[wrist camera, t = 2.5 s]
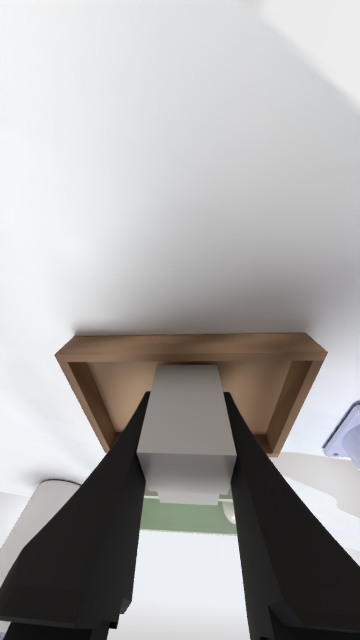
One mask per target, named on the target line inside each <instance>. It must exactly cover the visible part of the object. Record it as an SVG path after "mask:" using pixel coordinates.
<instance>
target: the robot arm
mask: <svg viewBox="0 0 360 640" xmlns="http://www.w3.org/2000/svg"><path fill="white" fill-rule="evenodd" d="M150 393H151V391H146V392H145V394H144V396H143V398H142V400H141V401H140V403H139V405H138V407H137V409H136V410H135V412H134V414H133V415H132V417H131V419H130V420H129V422H128V424H127V425H126V427H125V428H124V430H123V431H122V433H121V434H120V436H119V437H118V439H117V440H116V442H115V443H114V445H113V446H112V447H111V449H110V450H109V451H108V453H107V454H106V455H105V457H104V458H103V459H102V461H101V462H100V463H99V465H98V466H97V467H96V468H95V469H94V471H93V472H92V473H91V474H90V476H89V477H88V478H87V479H86V480H85V482H84V483H83V484H82V485H81V486H80V488H79V489H78V490H77V491H76V492H75V493H74V494H73V495H72V496H71V498H70V499H69V500H68V501H67V502H66V503H65V504H64V505H63V507H62V508H61V509H60V510H59V511H58V512H57V513H56V514H55V515H54V516H53V517H52V518H51V519H50V520H49V521H48V523H47V524H46V525H45V526H44V527H43V528H42V529H41V530H40V531H39V532H38V533H37V534H36V535H35V536H34V537H33V538H32V539H31V540H30V541H29V542H28V543H27V544H26V545H25V546H24V547H23V549H22V550H21V552H20V554H19V555H18V557H17V559H16V560H15V562H14V563H13V565H12V567H11V568H10V570H9V572H8V574H7V576H6V578H5V579H4V581H3V583H2V585H1V587H0V621H7V622H11V623H10V625H9V627H8V629H7V632H6V633H4V632H0V640H107V636H108V630H109V628H112V629H117V625H118V620H119V614H124V612H125V611H126V610H127V608H128V607H129V605H130V603H131V602H132V593H133V583H134V574H135V565H136V556H137V548H138V540H139V531H140V523H141V516H142V508H143V501H144V493H145V486H146V480H145V476H144V473H143V470H142V467H141V464H140V461H139V458H138V455H137V448H138V444H139V440H140V435H141V431H142V427H143V423H144V418H145V414H146V410H147V406H148V401H149V397H150ZM223 394H224V399H225V403H226V408H227V413H228V417H229V422H230V426H231V431H232V436H233V440H234V445H235V449H236V454H237V457H236V461H235V465H234V469H233V474H232V478H231V482H230V484H231V491H232V499H233V506H234V513H235V521H236V528H237V536H238V543H239V551H240V559H241V567H242V576H243V584H244V593H245V602H246V611H247V619H248V625H249V632H250V639H251V640H360V566H359V565H358V564H357V563H356V562H355V561H354V560H353V559H352V558H351V556H350V555H349V554H348V553H347V552H346V551H345V550H344V549H343V548H342V547H341V545H340V544H339V543H338V542H337V541H336V540H335V539H334V538H333V537H332V535H331V534H330V533H329V532H328V531H327V530H326V529H325V527H324V526H323V525H322V524H321V523H320V522H319V520H318V519H317V518H316V517H315V516H314V515H313V514H312V512H311V511H310V510H309V509H308V507H307V506H306V505H305V504H304V503H303V501H302V500H301V499H300V498H299V496H298V495H297V494H296V493H295V492H294V490H293V489H292V488H291V487H290V485H289V484H288V483H287V482H286V480H285V479H284V478H283V476H282V475H281V474H280V472H279V471H278V470H277V468H276V467H275V466H274V464H273V463H272V462H271V460H270V459H269V457H268V456H267V455H266V453H265V452H264V450H263V449H262V447H261V446H260V444H259V443H258V441H257V440H256V438H255V437H254V435H253V434H252V432H251V430H250V429H249V427H248V425H247V424H246V422H245V420H244V419H243V417H242V415H241V413H240V412H239V410H238V408H237V406H236V404H235V402H234V400H233V398H232V396H231V394H230V393H229V392H223ZM323 452H324V454H325V455H326V456H328V457H350V458H351V460H352V461H353V463H354V464H355V465H356V467H357V468H358V470H359V471H360V405H357V406H355V407H354V408H353V409H352V411H351V412H350V413H349V415H348V416H347V418H346V419H345V420H344V422H343V423H342V425H341V426H340V427H339V429H338V430H337V432H336V433H335V434H334V436H333V437H332V439H331V440H330V441H329V443H328V444H327V446H326V447H325V448H324V450H323Z"/></svg>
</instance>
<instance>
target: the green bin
mask: <svg viewBox="0 0 360 640" xmlns="http://www.w3.org/2000/svg"><path fill="white" fill-rule="evenodd" d="M222 501H227V502H233V499H232V491H231V484H230V486H229V490H228V495H222V494H219V500H218V505H200V504H177V503H160V500H159V497H158V493H157V492H155V491H149V489H148V486H147V483H146V486H145V493H144V501H143V508H142V516H141V523H140V530H143V531H161V532H178V533H197V534H215V535H233V536H237V528H236V525H235V524H233V523H231V522H230V521H229V520H228V519H227V517H226V516H225V514H224V511H223V507H222Z"/></svg>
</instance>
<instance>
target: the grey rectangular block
mask: <svg viewBox="0 0 360 640" xmlns="http://www.w3.org/2000/svg"><path fill="white" fill-rule="evenodd" d="M137 455H138V458H139V461H140V464H141V467H142V470H143V473H144V476H145V480H146V483H147V486H148V489H149V491H155V492H177V493H200V494H222V495H228V490H229V486H230V482H231V478H232V474H233V469H234V465H235V461H236V457H237V454H236V449H235V445H234V440H233V436H232V431H231V426H230V422H229V417H228V413H227V408H226V403H225V399H224V394H223V390H222V385H221V380H220V376H219V371H218V367H217V365H157V367H156V372H155V376H154V380H153V384H152V389H151V393H150V397H149V401H148V406H147V410H146V414H145V418H144V423H143V427H142V431H141V435H140V440H139V444H138V448H137Z"/></svg>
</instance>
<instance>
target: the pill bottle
mask: <svg viewBox="0 0 360 640" xmlns="http://www.w3.org/2000/svg"><path fill="white" fill-rule="evenodd" d="M79 488H80V486H79V485H77V484H74V483H71V482H67V481H60V480H50V481H45V482H42V483H41V484H40V485H39V486H38V487H37V489H36V491H35V492H34V493H33V495H32V497H31V498H30V501H29V502H28V504H27V505H26V507H25V509H24V510H23V512H22V514H21V515H20V517H19V519H18V520H17V522H16V524H15V526H14V527H13V529H12V530H11V532H10V534H9V536H8V538H7V539H6V541H5V543H4V544H3V546H2V548H1V549H0V587H1V585H2V583H3V581H4V579H5V578H6V576H7V574H8V572H9V570H10V568H11V567H12V565H13V563H14V562H15V560H16V559H17V557H18V555H19V554H20V552H21V550H22V549H23V547H24V546H25V545H26V544H27V543H28V542H29V541H30V540H31V539H32V538H33V537H34V536H35V535H36V534H37V533H38V532H39V531H40V530H41V529H42V528H43V527H44V526H45V525H46V524H47V523H48V521H49V520H50V519H51V518H52V517H53V516H54V515H55V514H56V513H57V512H58V511H59V510H60V509H61V508H62V507H63V505H64V504H65V503H66V502H67V501H68V500H69V499H70V498H71V496H72V495H73V494H74V493H75V492H76V491H77V490H78V489H79ZM10 623H11V622H7V621H0V632H4V633H6V632H7V629H8V627H9V625H10Z"/></svg>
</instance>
